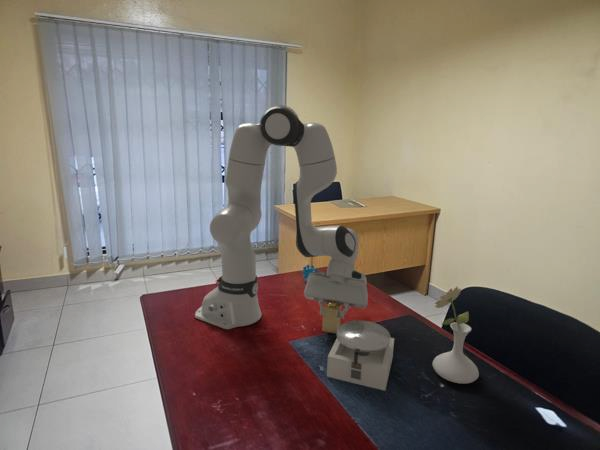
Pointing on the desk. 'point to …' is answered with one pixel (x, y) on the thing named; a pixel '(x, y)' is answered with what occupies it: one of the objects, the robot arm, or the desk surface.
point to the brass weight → (331, 316)
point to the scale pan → (363, 337)
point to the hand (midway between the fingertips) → (331, 316)
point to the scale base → (360, 366)
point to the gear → (308, 271)
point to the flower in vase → (455, 347)
